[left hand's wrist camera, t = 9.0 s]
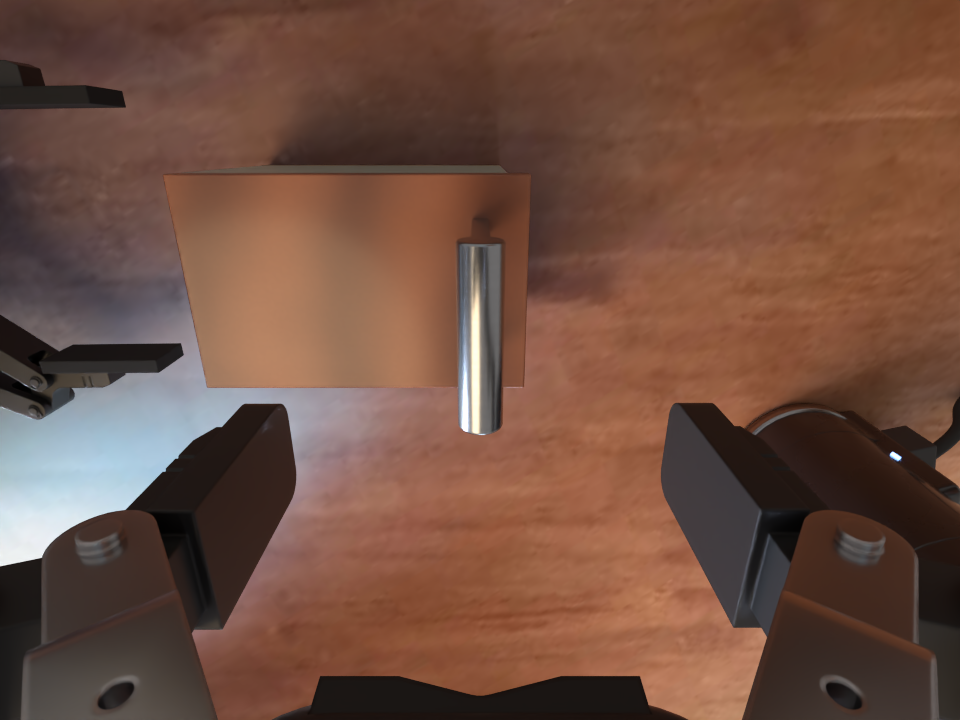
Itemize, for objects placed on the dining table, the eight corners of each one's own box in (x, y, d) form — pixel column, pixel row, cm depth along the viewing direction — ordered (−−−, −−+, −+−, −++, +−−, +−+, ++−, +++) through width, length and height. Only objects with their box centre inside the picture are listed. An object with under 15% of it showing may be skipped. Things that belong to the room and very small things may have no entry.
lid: (528, 173, 23) (554, 186, 15) (522, 377, 26) (540, 476, 19) (177, 173, 23) (18, 186, 15) (218, 378, 26) (107, 476, 18)
